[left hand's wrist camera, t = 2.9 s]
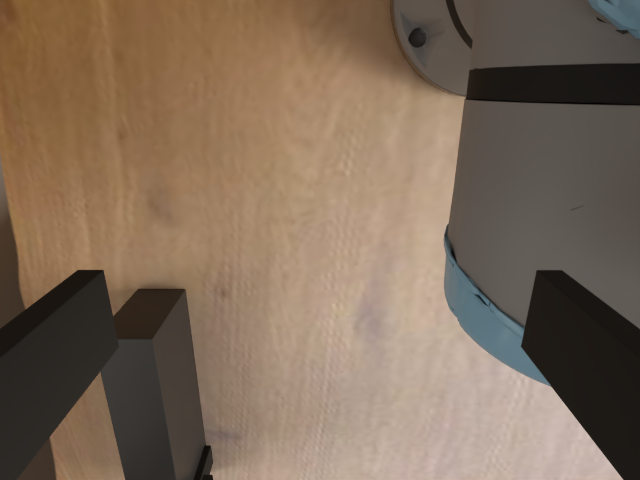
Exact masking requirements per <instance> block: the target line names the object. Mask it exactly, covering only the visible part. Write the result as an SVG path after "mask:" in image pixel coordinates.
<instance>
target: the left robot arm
mask: <svg viewBox="0 0 640 480" xmlns="http://www.w3.org/2000/svg"><path fill="white" fill-rule="evenodd" d="M390 11H391V20H392V25H393V30H394V33H395V37H396V40H397V42H398V45H399V47H400V49H401V51H402V53H403V55H404V57H405V58H406V60H407V61H408V63H409V64H410V66H411V67H412V68H413V69H414V71H415V72H416V73H417V74H418V75H419V76H420V77H421V78H423V79H424V80H425V81H427V82H428V83H429V84H431V85H432V86H434V87H436V88H438V89H440V90H442V91H444V92H447V93H450V94H454V95H458V96H465V97H466V99H465V101H464V109H463V117H462V125H461V133H460V142H459V150H458V158H457V166H456V174H455V182H454V191H453V198H452V204H451V211H450V218H449V224H448V225H447V227H446V230H445V235H444V247H445V252H446V264H445V276H444V291H445V296H446V300H447V303H448V306H449V308H450V310H451V311H452V312H453V314H454V315H455V316H456V317H457V319H458V321H459V323H460V326H461V327H462V328H463V330H464V331H465V332H466V333H467V334H468V335H469V336H470V337H471V338H472V339H473V340H474V341H475V342H476V343H477V344H478V345H479V346H481V347H482V348H483V349H484V350H486V351H487V352H488V353H490V354H491V355H492V356H494V357H495V358H497V359H498V360H499V361H501V362H502V363H504V364H506V365H507V366H509V367H511V368H513V369H514V370H516V371H518V372H520V373H522V374H524V375H526V376H528V377H530V378H532V379H534V380H536V381H538V382H541V383H543V384H546V385H548V386H551V387H552V388H553V389H554V390H555V392H556V393H557V394H558V396H559V397H560V398H561V399H562V401H563V402H564V403H565V405H566V406H567V407H568V409H569V410H570V411H571V412H572V414H573V415H574V416H575V418H576V419H577V420H578V421H579V423H580V424H581V425H582V427H583V428H584V429H585V431H586V432H587V433H588V434H589V436H590V437H591V438H592V440H593V441H594V442H595V443H596V445H597V446H598V447H599V449H600V450H601V451H602V453H603V454H604V455H605V456H606V458H607V459H608V460H609V462H610V463H611V464H612V465H613V467H614V468H615V469H616V471H617V472H618V473H619V475H620V476H621V477H622V478H623V480H640V0H390ZM118 348H119V343H118V338H117V334H116V329H115V324H114V319H113V314H112V309H111V305H110V300H109V295H108V290H107V285H106V280H105V276H104V271H103V270H77V271H76V272H75V273H74V274H72V275H71V276H70V277H68V278H67V279H66V280H64V281H63V282H62V283H60V284H59V285H58V286H56V287H55V288H54V289H52V290H51V291H50V292H48V293H47V294H46V295H44V296H43V297H42V298H40V299H39V300H38V301H37V302H35V303H34V304H33V305H31V306H30V307H29V308H27V309H26V310H25V311H23V312H22V313H21V314H19V315H18V316H17V317H15V318H14V319H13V320H11V321H10V322H9V323H7V324H6V325H5V326H3V327H2V328H1V329H0V480H17V478H18V477H19V476H20V474H21V473H22V472H23V471H24V469H25V468H26V467H27V465H28V464H29V463H30V462H31V460H32V459H33V458H34V456H35V455H36V454H37V453H38V451H39V450H40V449H41V447H42V446H43V445H44V443H45V442H46V441H47V440H48V438H49V437H50V436H51V434H52V433H53V432H54V431H55V429H56V428H57V427H58V425H59V424H60V423H61V421H62V420H63V419H64V418H65V416H66V415H67V414H68V412H69V411H70V410H71V409H72V407H73V406H74V405H75V403H76V402H77V401H78V399H79V398H80V397H81V396H82V394H83V393H84V392H85V390H86V389H87V388H88V387H89V385H90V384H91V383H92V381H93V380H94V379H95V377H96V376H97V375H98V374H99V372H100V371H101V370H102V368H103V367H104V366H105V365H106V363H107V362H108V361H109V359H110V358H111V357H112V355H113V354H114V353H115V352H116V350H117V349H118Z"/></svg>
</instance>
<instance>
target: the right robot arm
mask: <svg viewBox="0 0 640 480" xmlns="http://www.w3.org/2000/svg"><path fill="white" fill-rule="evenodd" d="M212 464H213V459H212V451H211V446H204V449H203V452H202V455H201V458H200V461H199V465H198V468H197V471H196V474H195V477H194V480H213V476H212V475H209V474H210V471H211V467H212Z"/></svg>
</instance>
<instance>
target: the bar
mask: <svg viewBox="0 0 640 480" xmlns="http://www.w3.org/2000/svg"><path fill="white" fill-rule="evenodd" d="M113 319H114V324H115V329H116V334H117V338H118V343H119V348H118V349H117V350H116V352H115V353H114V354H113V355H112V357H111V358H110V359H109V361H108V362H107V363H106V365H105V366H104V367H103V368H102V370H101V371H100V372H101V376H102V381H103V385H104V389H105V394H106V398H107V402H108V407H109V411H110V415H111V419H112V424H113V428H114V432H115V437H116V441H117V445H118V450H119V454H120V458H121V463H122V467H123V471H124V475H125V480H194V477H195V474H196V471H197V468H198V465H199V461H200V458H201V455H202V452H203V449H204V446H206V443H205V435H204V428H203V420H202V412H201V405H200V397H199V389H198V382H197V374H196V367H195V359H194V351H193V344H192V336H191V328H190V321H189V313H188V305H187V298H186V290H185V289H138V290H137V291H136V292H135V293H134V294H133V295H132V296H131V298H130V299H129V300H128V301H127V302H126V303H125V304H124V305H123V306H122V308H121V309H120V310H119V311H118V312H117V313H116V314H115V315H114V316H113Z"/></svg>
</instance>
